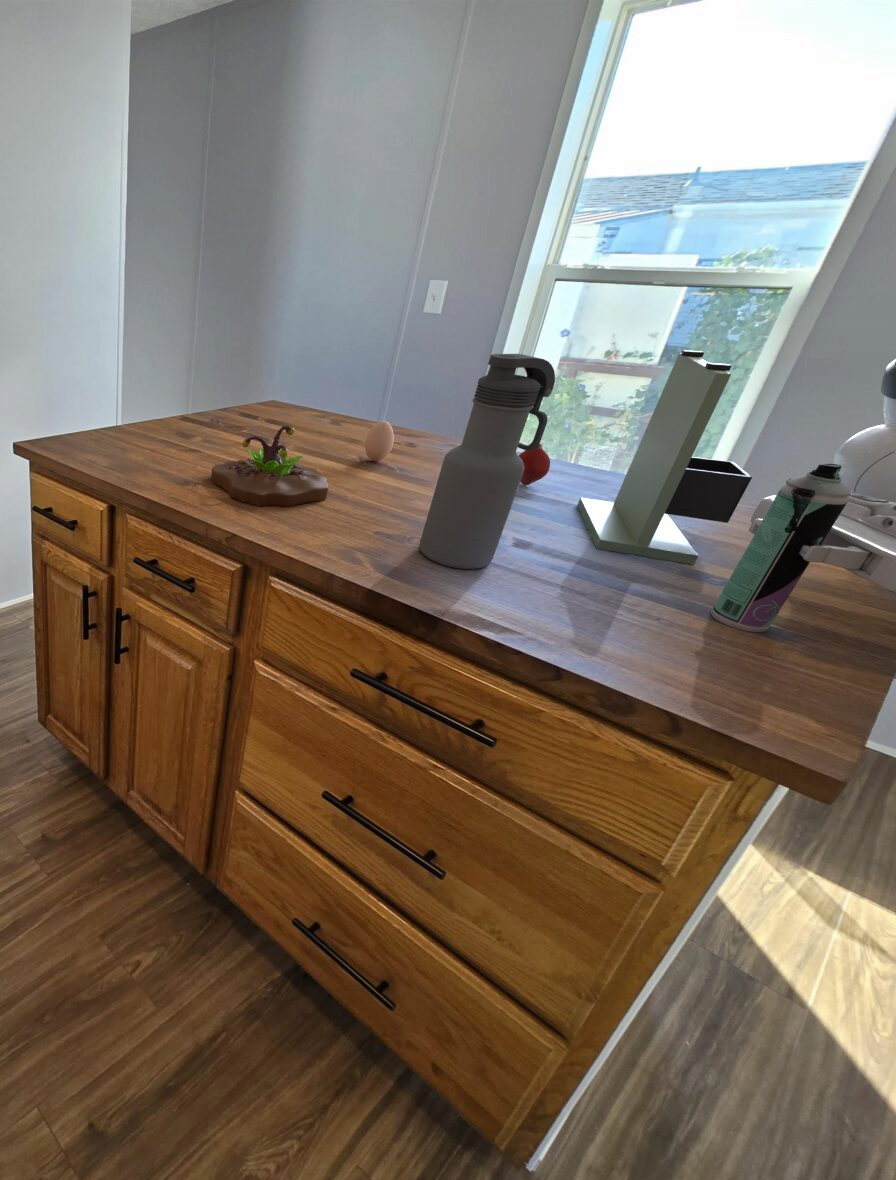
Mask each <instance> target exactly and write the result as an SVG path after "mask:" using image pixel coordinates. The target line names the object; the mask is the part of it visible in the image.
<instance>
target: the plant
mask: <svg viewBox="0 0 896 1180" xmlns="http://www.w3.org/2000/svg"><path fill="white" fill-rule="evenodd" d="M283 431H285V433H286V434H287V435H288V436H293V434H295V428H294V427H293V426H292V425H286V424H285V425H282V426H281V428H279V429H278V430H277V432H276V434H275V435H274V437H273V441H272V444H271V445H269V444H268V442H267V441H266V439H264V438H263V437H261V436H258V435H257V436H256V435H253V436H250V437H248V438H245V439H244V440H243V441H242V443H241V444H242V446H243V447H244V448H248V447H249V446H250V444H251V441H252V440H256V441H258V442H260V444H261V446H262V448H260V449H259V453H258V452H257V451H254V450H251V449H247V453H248V454H249V455H250V456H251V458H252V459H250V458H247V459H238V460H226V461H225V462H224V463H221V464H220V463H219V464H215V465H213V466H212V468H211V474H210V480H211V482H212V483H213V484H215V485H217V486H218V487H220V488H222V489H223V490H224V491H226V492H227V493H228V494H229V496H230V497H231V498H232V499H234V500H237V501H240V502H242V503H245V504H249V505H253V506H256V507H264V506H279V507H293V506H296V505H301V504H302V505H303V504H307V503H312V502H313V503H314V502H321V501H324V500H326V499H327V498H328V497H327V496H328V492H329V486H328V479H327V477H326V476H325V475H324V474H323V473H322V472H320V471H318V470H317V469H316V468H313V467H310V466H307V465H306V466H305V465H304V464H302V463H300V462H298V461H300V460H301V459H303V455H296V456H293V457H291V458H289V459H287V458H288V455H289V450H288V449H287V446H285V445H283V444H279V442H280V439H281V434H282V433H283Z"/></svg>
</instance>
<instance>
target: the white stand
mask: <svg viewBox="0 0 896 1180" xmlns="http://www.w3.org/2000/svg"><path fill="white" fill-rule="evenodd" d="M704 355H705V352H704V351H702V350H701V351H700V350H687V349H683V350H681V352H679V353H678V355H677V356H676V359H675V361H674V364H673V366H672V369H671V371H670V373H669V376H668V378H667V380H666V382H665V384H664V386H663V389H662V392H661V393H660V395H659V398H658V401H657V403H656V405H655V407H654V410H653V412H652V414H651V417H650V420H649V422H648V423H647V426H646V428H645V431H644V432H643V435H642V437H641V440H640V442H639V445H638V447H637V449H636V451H635V453H634V456H633V458H632V461H631V463H630V465H629V468H628V470H627V472H626V474H625V477H624V479H623V481H622V483H621V486H620V488H619V491H618V493H617V495H616V497H615V500H614V502H613V501H609V500H608V501H606V500H600V499H593V498H587V497H586V498H585V497H580V498H579V499H578V502H577V504H576V506H577V508H578V511H579V512H581V513H580V515H581V514H582V515H581V517H582V519H583V521H585V522H584V524H585V523H586V524H585V526H586V525H587V526H586V528H587V527H588V528H587V530H588V532H590V533H589V535H590V538H591V539H592V542H593V544H594V546H595V549H596V550H597V549H598V550H602V551H609V552H615V553H621V554H626V555H633V556H638V557H639V556H640V557H645V558H651V559H657V560H661V561H662V560H663V561H668V562H669V561H670V562H675V563H681V564H687V565H692V566H693V565H695V564H696V562H697V560H698V559H699V556H700V555H699V553H698V552H697V551H696V550H695V548H694V547H693V545H692V544H691V543H690V541H688V539H687V538H686V537H685V536H684V535H685V534H683V533H682V531H681V530H680V529H679V528H678V526H677V525H676V523H675V522H674V521H673V520H672V518H671V517H670V516H676V517H677V516H678V517H685V518H689V519H690V518H691V519H698V520H705V521H710V522H711V521H712V522H718V523H724V524H725V523H726V524H728V523H729V522H730V519H731V518H732V516H733V514H734V513H735V511H736V509H737V507H738V505H739V503H740V501H741V499H742V498H743V496H744V494H745V492H746V490H747V488H748V486H749V484H750V483H751V481H752V478H753V476H751V475H750V474H749V473H748V472H747V471H745V470H744V469H743V468H742V467H741V466H739V465H738V464H737V463H736V462H734V461H731V460H722V459H715V458H714V459H713V458H704V457H696V456H693V455H694V453H695V451H696V449H697V448H698V447H697V446H698V445H699V442H700V441H701V439H702V437H703V434H704V432H705V430H706V428H707V426H708V424H709V422H710V420H711V417H712V415H713V413H714V411H715V410H716V407H717V405H718V403H719V402H720V398H721V397H722V395H723V392H724V391H725V388H726V386H727V384H728V382H729V379H730V378H731V376H732V373H730V370H731V368H732V365H731V364H729V363H719V362H709V361H707V360H705V359H703V357H704Z"/></svg>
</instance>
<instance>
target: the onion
mask: <svg viewBox="0 0 896 1180" xmlns="http://www.w3.org/2000/svg"><path fill="white" fill-rule="evenodd" d="M518 456H519V457H520V458H521V459H522V461H523V463H524V472H523V475H522V478H521V481H520V484H521V485H523V486H529V485H531V484H533V483H535V482H537V481H539V480H541V479H543V478H544V477H546V476H547V475H548V472H549V471H550V467H551V459H550V456H549V454H548V453H547V452H546V451H545V450H544V449H543V444H542V443H540V444H539V446H538V447H537V448H536V449H535V450H532V451H526V450H523V451H522V452H520V453H519V455H518Z"/></svg>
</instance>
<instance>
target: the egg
mask: <svg viewBox="0 0 896 1180" xmlns="http://www.w3.org/2000/svg"><path fill="white" fill-rule="evenodd" d="M394 442H395V435H394V430H393V427H392V425H391V423H389V422H388V421H386V420H381V421H379V422H376V423H375V424H374V425H373V426H372V427H371V428H370V430H369V431H368V434H367V436H366V439H365V443H364V449H365V451H364V452H365V454H366V456H367V458H368V459H369V460H371V461H372V462H381V461H382V460H384V459H385V458H386V457H388V455H389V454H390V453H391V451H392V450H393V446H394Z"/></svg>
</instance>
